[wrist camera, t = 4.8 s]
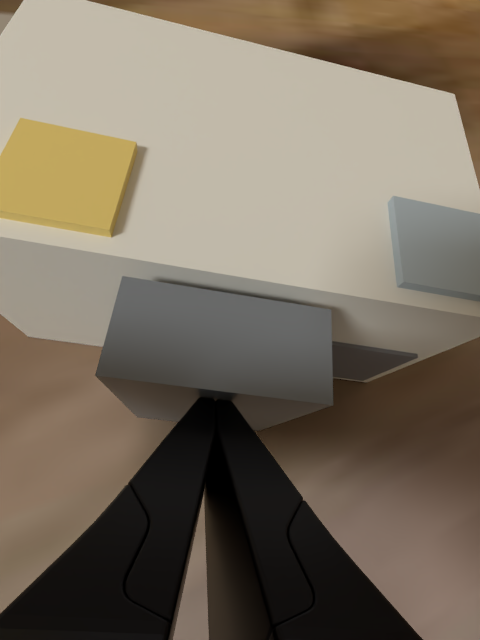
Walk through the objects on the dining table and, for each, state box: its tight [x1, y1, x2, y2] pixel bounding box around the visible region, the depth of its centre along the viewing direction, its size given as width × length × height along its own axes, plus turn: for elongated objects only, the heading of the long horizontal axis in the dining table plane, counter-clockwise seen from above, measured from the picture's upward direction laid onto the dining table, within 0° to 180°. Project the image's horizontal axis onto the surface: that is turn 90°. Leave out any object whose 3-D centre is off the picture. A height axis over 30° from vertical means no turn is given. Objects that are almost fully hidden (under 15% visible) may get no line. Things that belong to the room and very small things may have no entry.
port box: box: [0, 0, 480, 382], centre depth 14 cm, size 10×16×8 cm, turn 85°
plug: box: [95, 276, 333, 431], centre depth 12 cm, size 9×5×8 cm, turn 175°
